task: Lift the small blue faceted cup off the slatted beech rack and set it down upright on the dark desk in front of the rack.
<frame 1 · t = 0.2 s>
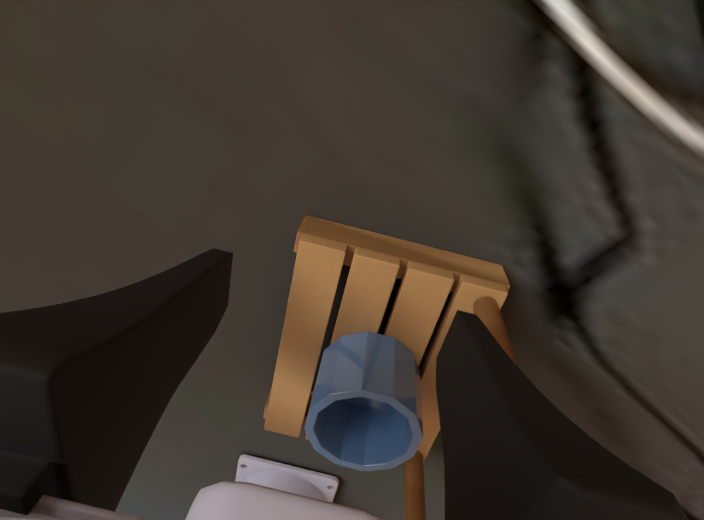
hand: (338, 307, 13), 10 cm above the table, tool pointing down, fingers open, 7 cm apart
blue faceted cup: (369, 371, 24), point 3 cm above the table, touching rack
rack: (372, 337, 27), on the table
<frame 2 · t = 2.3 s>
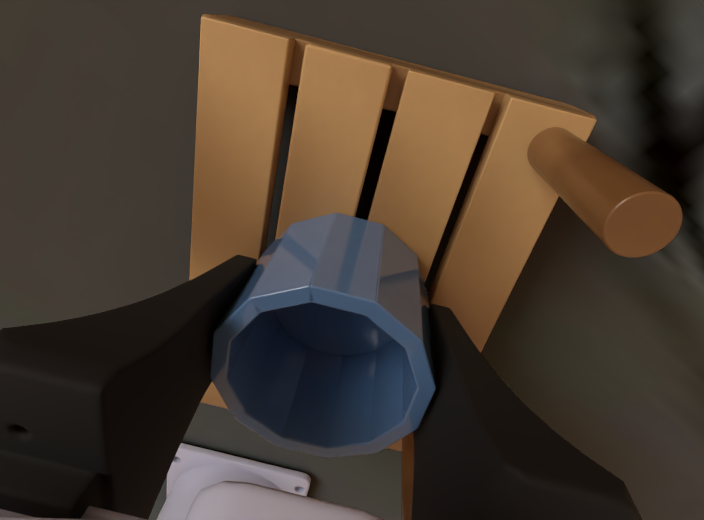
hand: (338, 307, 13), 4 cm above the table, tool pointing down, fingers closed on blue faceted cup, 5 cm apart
blue faceted cup: (341, 291, 14), point 3 cm above the table, touching gripper, rack
rack: (351, 250, 17), on the table
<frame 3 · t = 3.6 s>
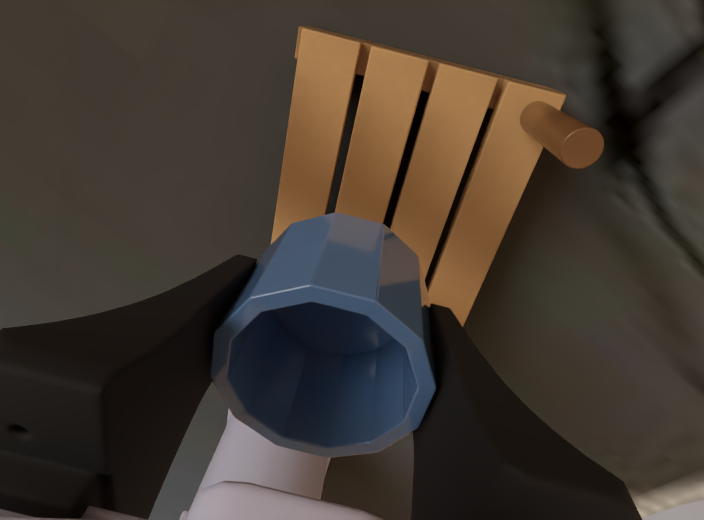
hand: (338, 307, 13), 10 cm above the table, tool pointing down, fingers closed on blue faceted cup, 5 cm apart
blue faceted cup: (341, 291, 14), point 9 cm above the table, touching gripper
rack: (389, 201, 22), on the table
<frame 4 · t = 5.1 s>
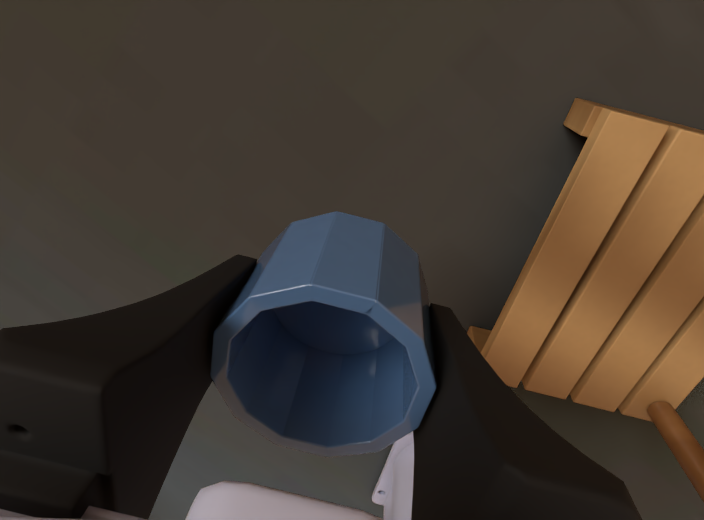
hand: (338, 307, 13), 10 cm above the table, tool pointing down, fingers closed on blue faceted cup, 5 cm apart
blue faceted cup: (341, 290, 14), point 9 cm above the table, touching gripper
rack: (613, 264, 22), on the table
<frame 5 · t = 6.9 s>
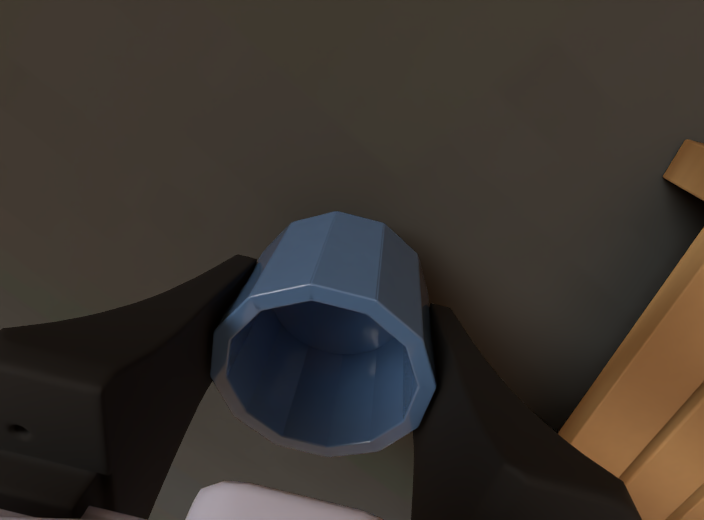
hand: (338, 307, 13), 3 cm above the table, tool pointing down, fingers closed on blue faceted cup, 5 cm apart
blue faceted cup: (341, 290, 14), point 2 cm above the table, touching gripper
when the fingers open (1 cm above the table, at t = 8.0 s): blue faceted cup stays where it is, on the table.
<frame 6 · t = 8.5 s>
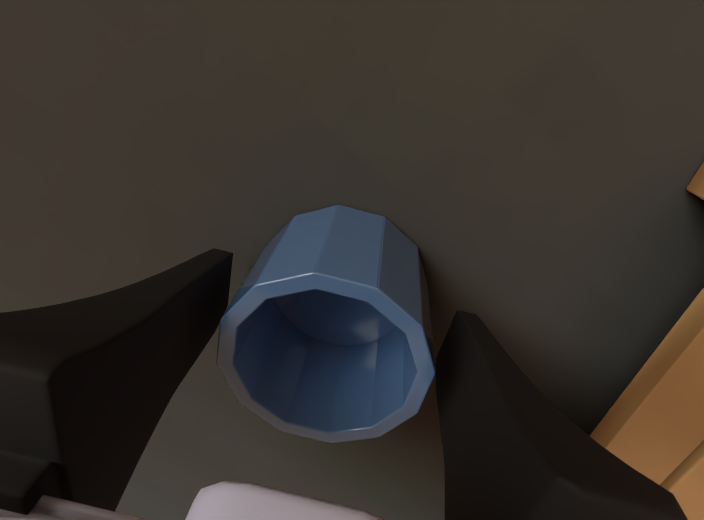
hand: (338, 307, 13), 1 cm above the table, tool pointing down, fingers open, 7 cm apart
blue faceted cup: (343, 282, 15), on the table
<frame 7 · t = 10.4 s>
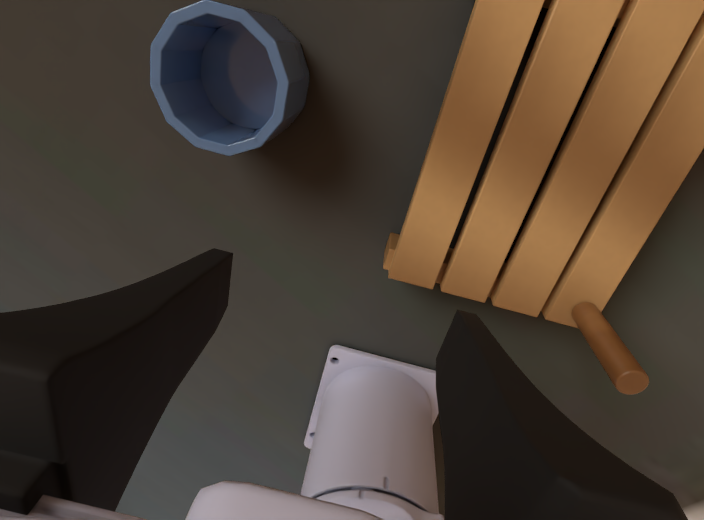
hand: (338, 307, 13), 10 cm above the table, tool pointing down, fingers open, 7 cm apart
blue faceted cup: (251, 76, 20), on the table
rack: (533, 154, 21), on the table
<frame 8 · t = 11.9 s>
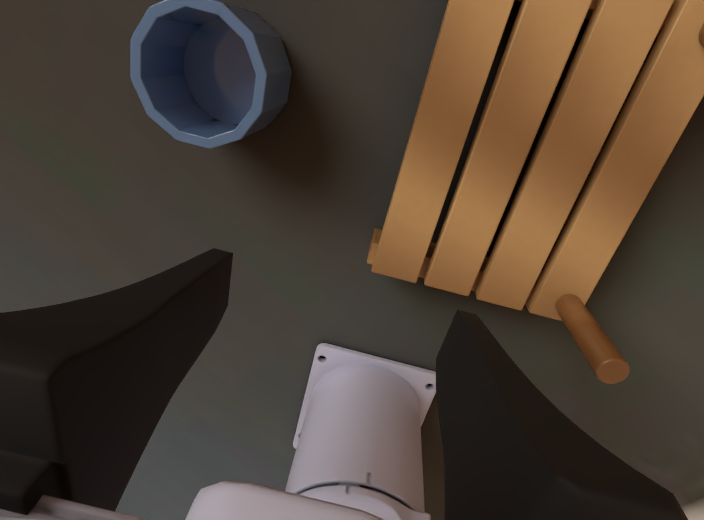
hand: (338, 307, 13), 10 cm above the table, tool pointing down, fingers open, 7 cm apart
blue faceted cup: (234, 73, 21), on the table
rack: (514, 147, 21), on the table
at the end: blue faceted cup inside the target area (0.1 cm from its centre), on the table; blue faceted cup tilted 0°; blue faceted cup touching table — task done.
